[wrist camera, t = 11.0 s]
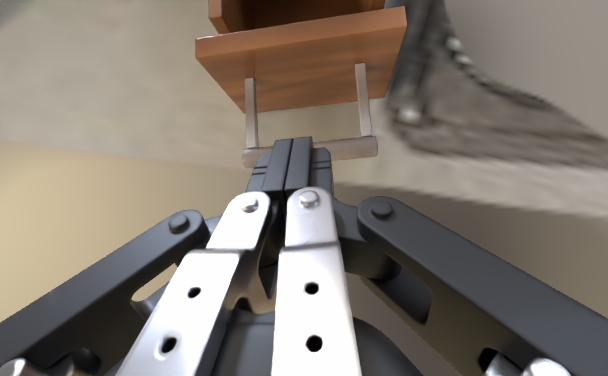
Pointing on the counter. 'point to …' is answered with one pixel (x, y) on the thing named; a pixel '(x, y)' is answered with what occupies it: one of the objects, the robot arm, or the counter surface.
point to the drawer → (303, 60)
